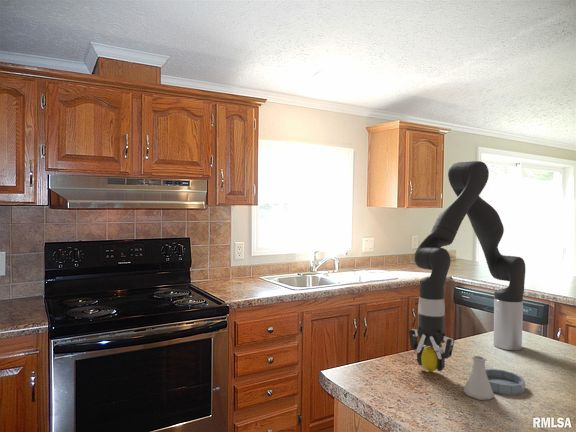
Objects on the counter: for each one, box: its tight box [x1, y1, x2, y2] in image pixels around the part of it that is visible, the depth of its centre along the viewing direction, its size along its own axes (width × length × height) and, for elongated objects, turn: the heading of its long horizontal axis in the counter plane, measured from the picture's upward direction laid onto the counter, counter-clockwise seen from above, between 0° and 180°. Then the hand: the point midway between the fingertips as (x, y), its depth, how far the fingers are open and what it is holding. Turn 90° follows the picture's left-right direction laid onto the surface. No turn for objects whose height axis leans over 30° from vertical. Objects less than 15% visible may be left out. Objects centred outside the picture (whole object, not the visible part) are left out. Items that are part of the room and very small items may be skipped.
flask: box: [462, 355, 495, 401], centre depth 109 cm, size 7×7×10 cm
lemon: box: [421, 345, 438, 373], centre depth 124 cm, size 6×6×8 cm
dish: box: [485, 368, 526, 396], centre depth 115 cm, size 12×12×2 cm
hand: (430, 367), depth 124 cm, fingers closed on lemon, 5 cm apart
